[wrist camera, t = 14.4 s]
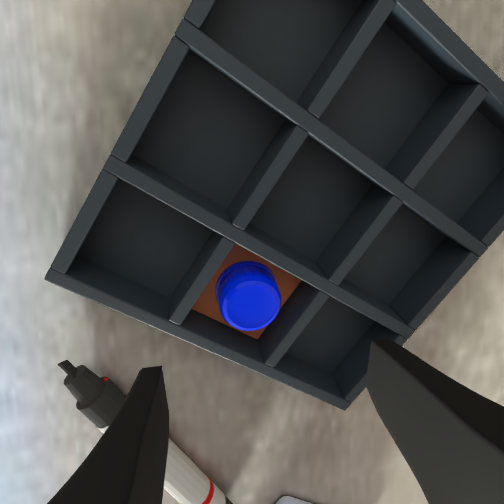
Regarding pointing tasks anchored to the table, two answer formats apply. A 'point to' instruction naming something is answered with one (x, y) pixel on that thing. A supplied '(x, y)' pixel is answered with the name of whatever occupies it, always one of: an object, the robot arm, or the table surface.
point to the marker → (178, 464)
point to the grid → (298, 183)
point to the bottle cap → (248, 295)
